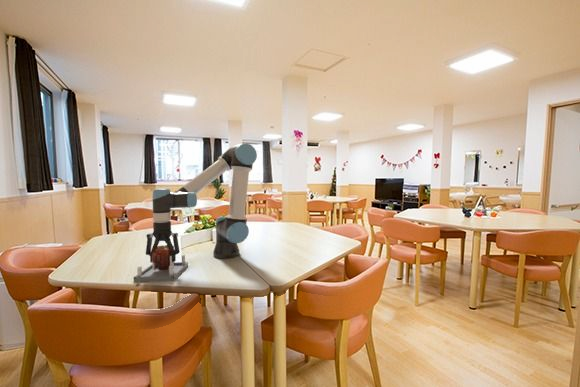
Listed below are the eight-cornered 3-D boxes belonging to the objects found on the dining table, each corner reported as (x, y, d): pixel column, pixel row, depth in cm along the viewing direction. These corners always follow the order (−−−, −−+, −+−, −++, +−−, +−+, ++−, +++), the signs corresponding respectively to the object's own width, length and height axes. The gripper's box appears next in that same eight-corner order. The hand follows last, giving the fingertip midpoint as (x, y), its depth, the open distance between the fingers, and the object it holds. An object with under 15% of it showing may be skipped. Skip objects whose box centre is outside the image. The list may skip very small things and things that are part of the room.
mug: (162, 264, 132) (162, 244, 131) (178, 266, 130) (177, 245, 129) (144, 272, 120) (144, 250, 119) (161, 274, 118) (161, 252, 117)
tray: (188, 265, 135) (187, 254, 135) (173, 280, 116) (173, 267, 115) (154, 266, 134) (153, 255, 134) (133, 281, 114) (133, 268, 114)
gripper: (186, 219, 128) (187, 265, 129) (143, 220, 127) (145, 266, 128) (181, 222, 121) (182, 271, 122) (135, 222, 119) (137, 272, 120)
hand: (163, 268), depth 125 cm, fingers closed on mug, 7 cm apart
